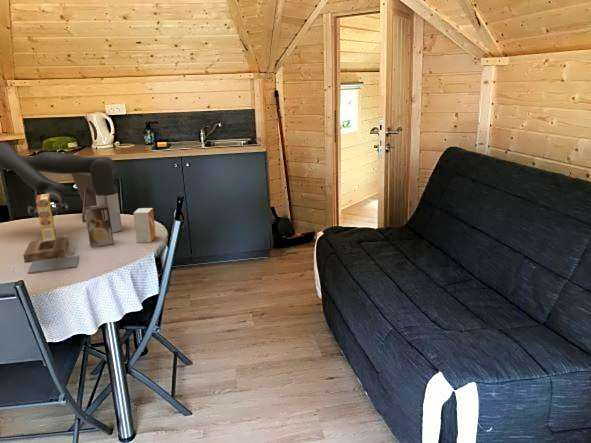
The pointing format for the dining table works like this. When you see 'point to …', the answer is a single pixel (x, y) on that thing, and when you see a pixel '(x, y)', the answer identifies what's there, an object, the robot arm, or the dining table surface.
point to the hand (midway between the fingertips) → (45, 214)
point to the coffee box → (98, 225)
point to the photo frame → (85, 190)
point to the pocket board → (46, 249)
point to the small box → (144, 224)
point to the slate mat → (53, 264)
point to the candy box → (45, 217)
